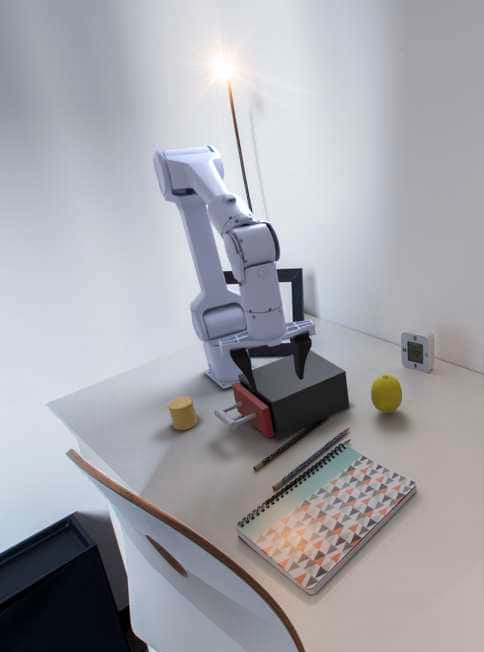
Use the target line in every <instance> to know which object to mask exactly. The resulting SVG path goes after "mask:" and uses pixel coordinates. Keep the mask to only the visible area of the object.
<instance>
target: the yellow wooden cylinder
mask: <svg viewBox="0 0 484 652" xmlns="http://www.w3.org/2000/svg"><path fill="white" fill-rule="evenodd" d="M193 402H194V401H193V399H192V397H188V396H179V397H175V398H173V399H171V400H169V402H168V403H167V409H168V412H169V416H170V418H171V422H172V425H173V428H174V429H175V430H177V431H187V430H189V429H192V428H194V427H195V426H196V425H197V424H198V422H199V420H198V417H197V413H196V410H195V409H196V408H195V407H194V403H193Z"/></svg>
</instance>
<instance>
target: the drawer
mask: <svg viewBox="0 0 484 652" xmlns="http://www.w3.org/2000/svg"><path fill="white" fill-rule="evenodd" d="M231 385H232V387H231V388H232V392H233V397H234V402H235V403H234V404H233V403H232V404H231V405H228V406H226V407H224V408H221V407H217V408H215V409H214V411H213V414H214V416H216V418H217V419H219V420H220V422H222V423H223V424H224V425H225V426H226V427H227V428H228V429H230V430H231V431H235V430H236V429H237V428H238V426H239V425H241V424H244V423H246V422H249V423H250V424H251V425H253V426H254V427H255V428H256V429H257V430H258V431H259V432H260V433H261V434H262V435H264V436H265V438H267V439H270V438H272V437H274V436H275V435H274V431H273V426H272V423H273V424H274V425H275V422H274V417H273V412H272V407H271V404H270V403H268V402H267V401H266V400H265V399H263V398H262V397H261V396H260V395H258V394H257V393H256V392H252V390H251V388H250V387H248V390H247V389H246V388H244V387H243V386H242V385H241V384H239V383H238V382H236V383H233V384H231ZM235 409H236V411H237V412H238V413H239V414H240V415H241V416H242V417H241V418H238V419H237V420H234V419H233V418H232V417H231V416H230V415H229V414H228V412H230V411H233V410H235Z"/></svg>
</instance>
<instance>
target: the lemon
mask: <svg viewBox="0 0 484 652" xmlns="http://www.w3.org/2000/svg"><path fill="white" fill-rule="evenodd" d="M370 398H371V402H372V405H373V407H374V408H375V409H376V410H377V411H379V412H381V413H385V414H386V415H387V414H390V413H393V412H395V411H396V410H397V409H398V408H400V406H401V404H402V401H403V390H402V386H401V384H400V381H399V380H398V379H397V378H396V377H395V376H393V375H389V374H386V373H385V374H383V375H380V376H378V377H377V378H376V379H375V380H374V381H373V383H372V385H371V389H370Z"/></svg>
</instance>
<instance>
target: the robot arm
mask: <svg viewBox="0 0 484 652" xmlns="http://www.w3.org/2000/svg"><path fill="white" fill-rule="evenodd" d="M152 163H153V168H154V172H155V176H156V179H157V183H158V187H159V190H160V194H161V196H162V197H163V199H164V201H165V202H168V203H169V202H170V203H173V204H175V207H176V208H177V210H178V213H179V215H180V219H181V223H182V226H183V231H184V234H185V236H186V241H187V244H188V248H189V251H190V255H191V259H192V263H193V266H194V269H195V273H196V277H197V280H198V281H197V282H198V285H199V289H200V291H199V293H198V294H197V295H196V296H195V297H194V298H193V300H191V302H190V304H189V310H190V314H191V315H190V316H191V323H192V326H193V330H194V333H195V335H196V336H197V338H198V339H199V341H201V342H202V346H203V347H202V348H203V351H204V354H205V359H206V362H207V367H208V369H206V370H205V371H204V373H205V374H206V375H207V377H209V378H210V379H211V380H212V381H214V382H215V383H216V384H217V386H219V387H220V388H222V389H223V390H226V389H229V388H232V385H231V384H233V383H236V382H238V383H239V378H238V375H240V374H244V375H245V377H246V378H247V380H248V383H249V386H250V388H251V390H252V392H257V387H256V383H255V380H254V377H253V372H252V370H253V369H255V368H254V367H253V365H252V359H251V358H250V357H251V356H249V350H251V349H254V348H259V347H263V346H267V347H270V348H271V347H275V346H276V347H277V346H280V345H281V344H282V342H284V341H288V340H289V342H290V347H291V351H292V355H293V357H294V367H295V372H296V375H297V377H298V378H299V379H300V380H301V379H304V368H305V363H306V359H307V356H308V353H309V351H310V350H311V348H312V346H313V340H312V338H311V337H312V336H316V334H317V333H316V332H317V331H316V327H315V326H316V325H315V323H314V322H313V320H311V319H308V320H301V321H292V322H291V321H289V322H286V320H285V313H284V306H283V299H282V294H281V289H280V282H279V275H278V270H277V264H276V263H275V262H279V260H280V258H281V246H280V241H279V238H278V235H277V233H276V230H275V228H274V226H273V225H272V223H271V222H270V221H268V220H263V219H258V218H256V215H254V214H253V212H252V211H251V210H250V208H249V207H248V205H247V204H246V203H245V201H244V200H243V199H242V198H241V197H240V196H239V195H237V194H236V193H232V192H230V191H229V190H228V188H227V186H226V184H225V182H224V179H225V169H224V163H223V160H222V157H221V154H220V152H219V151H218V150H217V149H216V148H215V146H213V145H211V144H210V145H206V146H198V147H188V148H179V149H168V150H160V149H158V150H154V154H153V155H152ZM212 227H213V228H214V229H215V230H216V232H217V234H218V235H219V236H220V238H221V239H222V241H223V246H224V250H225V251H224V252H225V254H226V256H227V259H228V262H229V264H230V268H231V272H232V275H233V278H234V279H235V280H236V281H237V285H238V290H239V292H238V291H237V290H234V289H231V288H229V287H228V285H227V282H226V278H225V275H224V269H223V266H222V262H221V258H220V255H219V251H218V247H217V243H216V238H215V235H214V231H213V228H212ZM239 384H240V383H239Z"/></svg>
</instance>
